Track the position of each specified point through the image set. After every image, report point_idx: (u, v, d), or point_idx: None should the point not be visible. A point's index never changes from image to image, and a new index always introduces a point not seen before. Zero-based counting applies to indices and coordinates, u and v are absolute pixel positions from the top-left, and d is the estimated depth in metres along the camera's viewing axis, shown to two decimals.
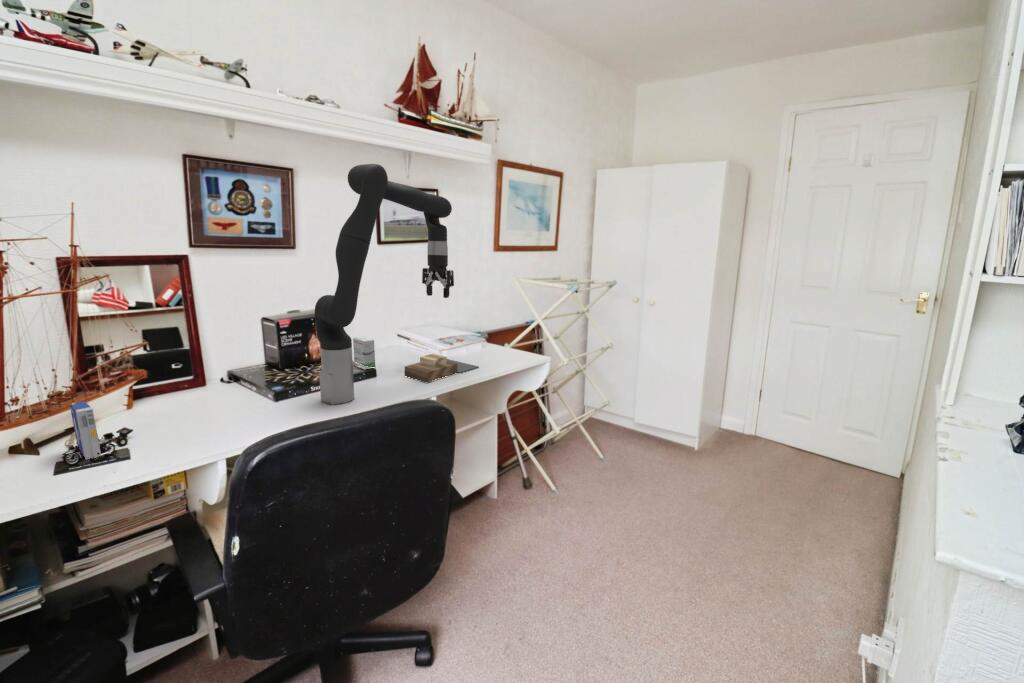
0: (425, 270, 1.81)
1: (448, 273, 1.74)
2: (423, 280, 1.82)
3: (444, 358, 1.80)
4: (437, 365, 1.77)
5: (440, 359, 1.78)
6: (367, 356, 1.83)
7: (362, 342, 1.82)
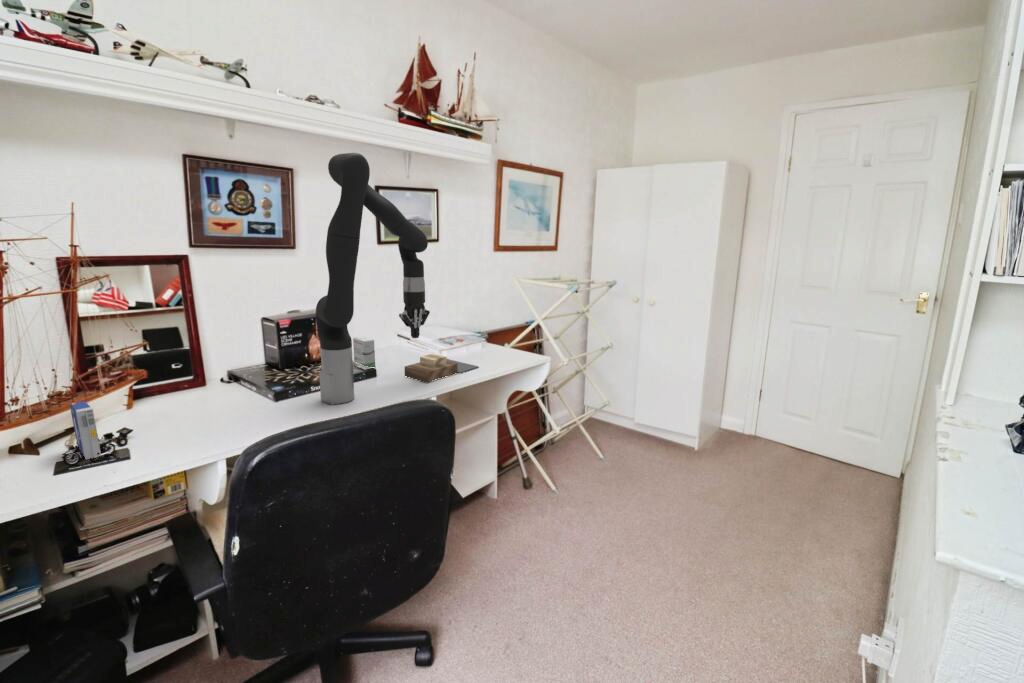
0: (405, 315, 1.64)
1: (428, 313, 1.72)
2: (411, 323, 1.67)
3: (444, 358, 1.80)
4: (437, 365, 1.77)
5: (440, 359, 1.78)
6: (367, 356, 1.83)
7: (362, 342, 1.82)
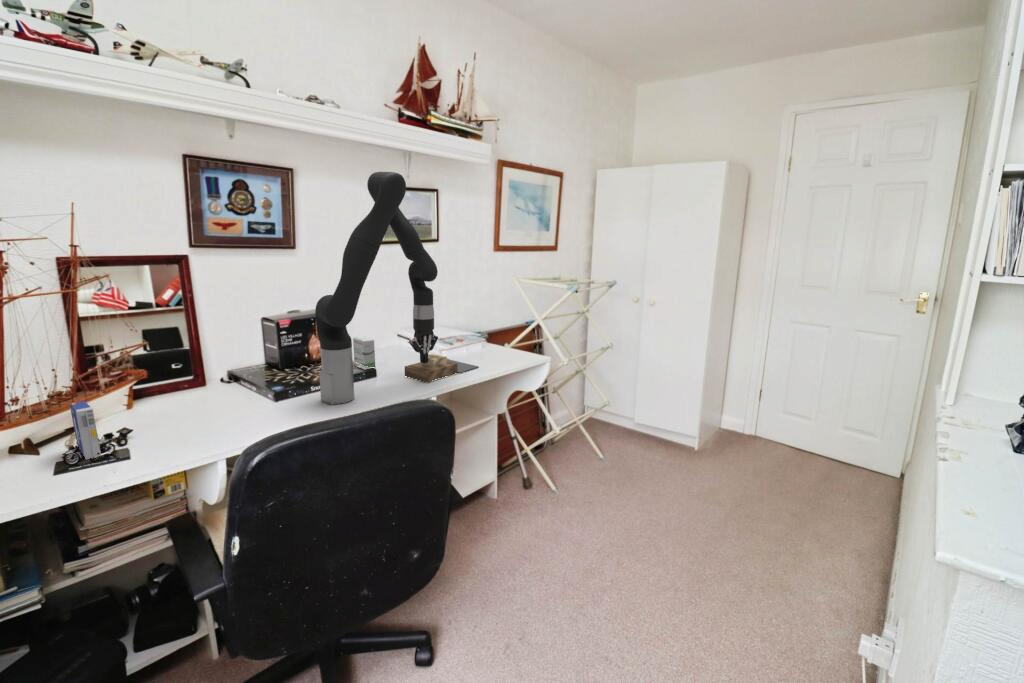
0: None
1: (436, 339, 1.78)
2: (421, 349, 1.72)
3: (444, 358, 1.80)
4: (437, 365, 1.77)
5: (440, 359, 1.78)
6: (367, 356, 1.83)
7: (362, 342, 1.82)
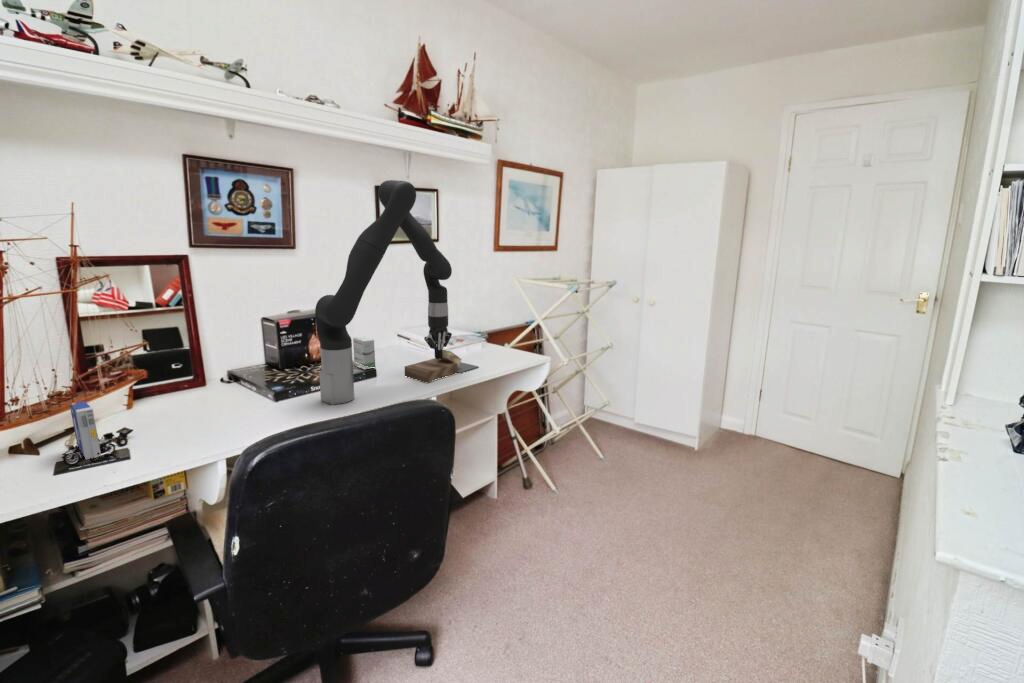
0: (430, 338, 1.76)
1: (450, 335, 1.84)
2: (436, 345, 1.78)
3: (459, 359, 1.86)
4: (451, 359, 1.82)
5: (456, 356, 1.84)
6: (367, 356, 1.83)
7: (362, 342, 1.82)
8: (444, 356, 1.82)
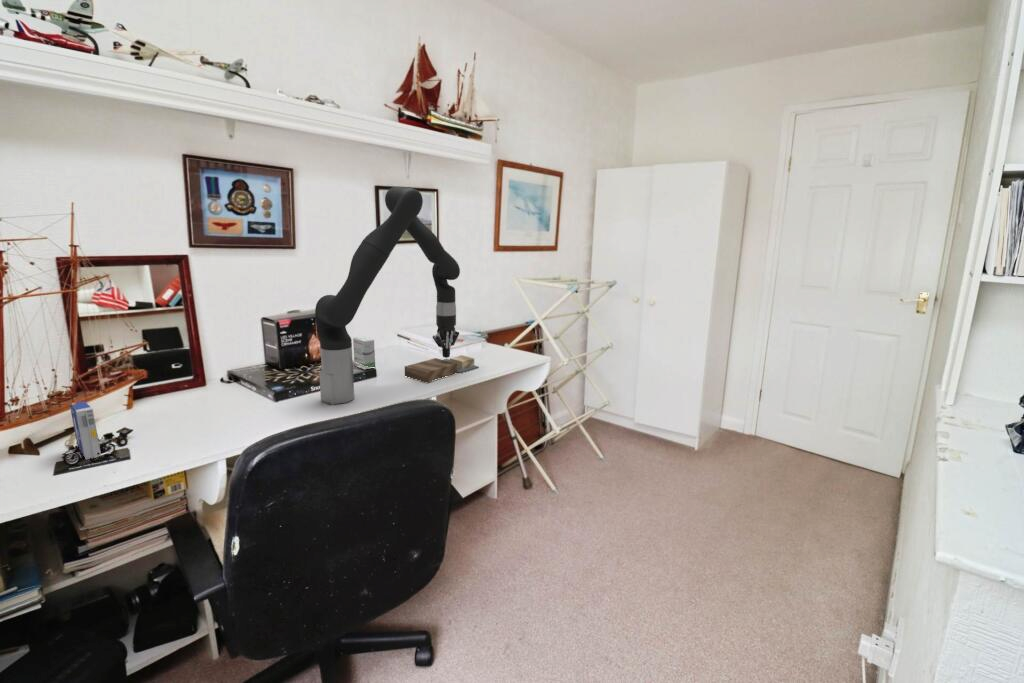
0: (438, 337, 1.79)
1: (457, 334, 1.87)
2: (443, 344, 1.82)
3: (464, 367, 1.88)
4: (470, 360, 1.91)
5: (467, 366, 1.90)
6: (367, 356, 1.83)
7: (362, 342, 1.82)
8: None
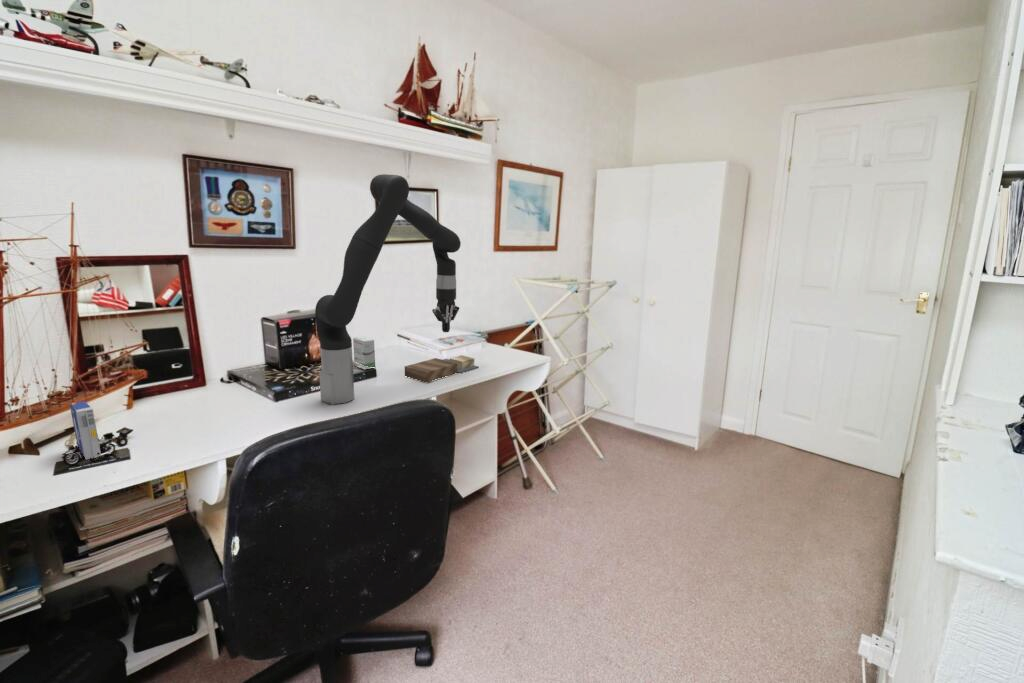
0: (438, 310, 1.77)
1: (457, 309, 1.85)
2: (443, 318, 1.79)
3: (464, 367, 1.88)
4: (470, 360, 1.91)
5: (467, 366, 1.90)
6: (367, 356, 1.83)
7: (362, 342, 1.82)
8: None
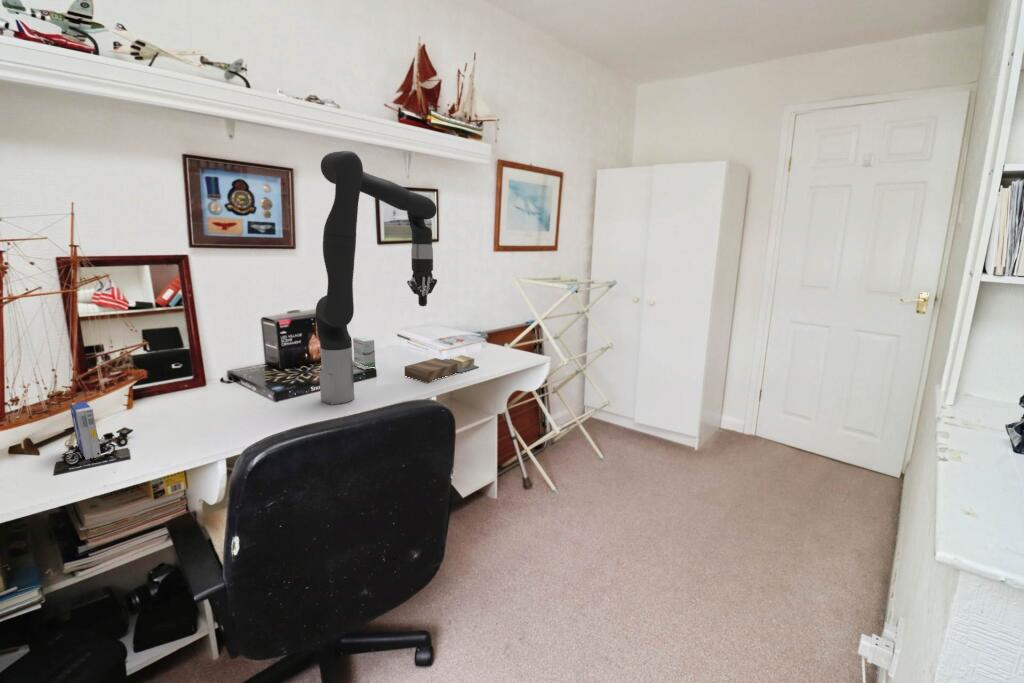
0: (413, 282, 1.65)
1: (435, 282, 1.73)
2: (419, 291, 1.67)
3: (464, 367, 1.88)
4: (470, 360, 1.91)
5: (467, 366, 1.90)
6: (367, 356, 1.83)
7: (362, 342, 1.82)
8: None
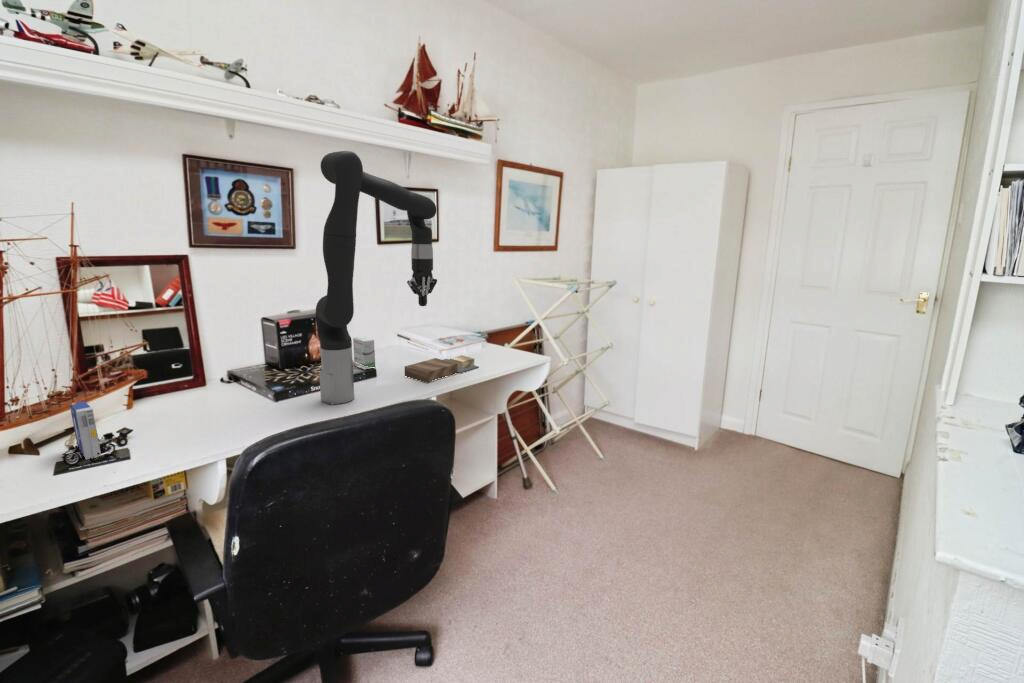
0: (413, 281, 1.65)
1: (435, 282, 1.73)
2: (419, 291, 1.67)
3: (464, 367, 1.88)
4: (470, 360, 1.91)
5: (467, 366, 1.90)
6: (367, 356, 1.83)
7: (362, 342, 1.82)
8: None
